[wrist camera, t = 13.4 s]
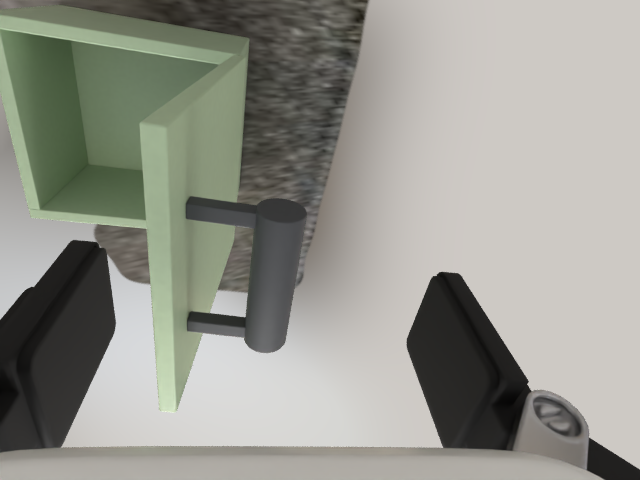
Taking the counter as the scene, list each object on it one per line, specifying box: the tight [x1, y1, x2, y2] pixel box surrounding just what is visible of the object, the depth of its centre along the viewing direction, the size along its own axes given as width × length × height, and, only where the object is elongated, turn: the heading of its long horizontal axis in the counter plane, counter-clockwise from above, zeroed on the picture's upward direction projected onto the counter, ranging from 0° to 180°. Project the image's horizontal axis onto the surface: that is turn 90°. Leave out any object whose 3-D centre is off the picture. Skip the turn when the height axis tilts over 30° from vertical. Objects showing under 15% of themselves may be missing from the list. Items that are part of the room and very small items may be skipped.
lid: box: [139, 55, 307, 412], centre depth 22 cm, size 15×14×5 cm
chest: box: [0, 5, 249, 228], centre depth 31 cm, size 15×14×10 cm
